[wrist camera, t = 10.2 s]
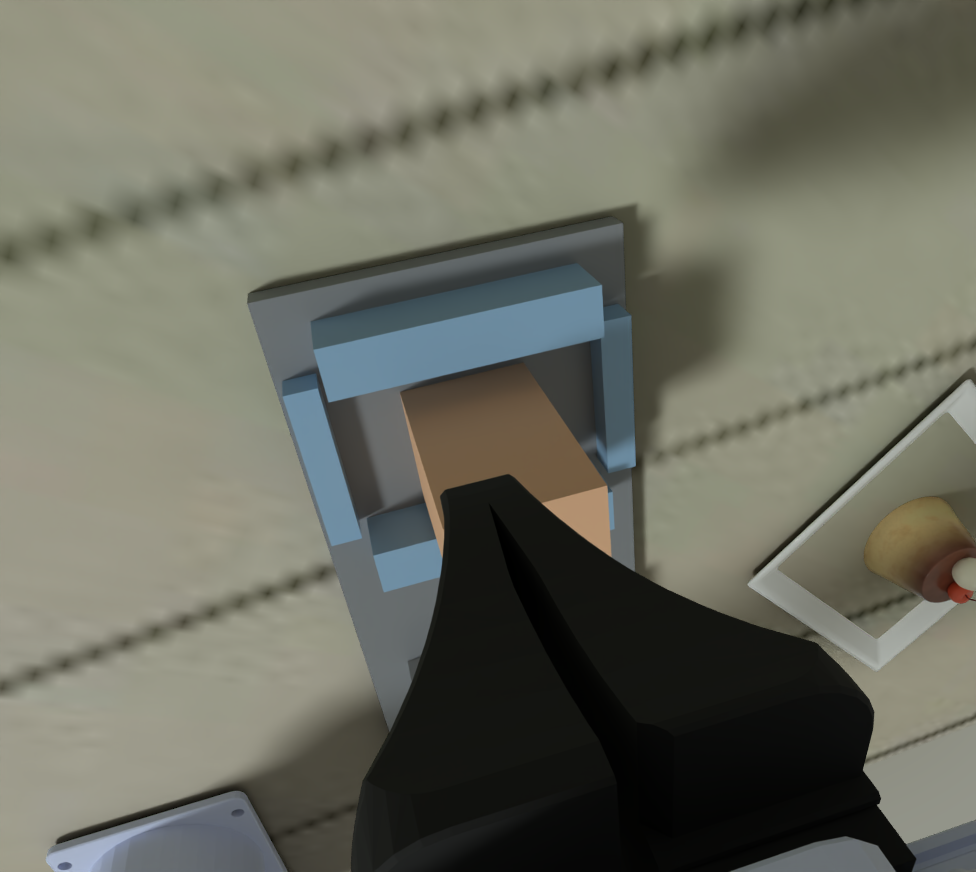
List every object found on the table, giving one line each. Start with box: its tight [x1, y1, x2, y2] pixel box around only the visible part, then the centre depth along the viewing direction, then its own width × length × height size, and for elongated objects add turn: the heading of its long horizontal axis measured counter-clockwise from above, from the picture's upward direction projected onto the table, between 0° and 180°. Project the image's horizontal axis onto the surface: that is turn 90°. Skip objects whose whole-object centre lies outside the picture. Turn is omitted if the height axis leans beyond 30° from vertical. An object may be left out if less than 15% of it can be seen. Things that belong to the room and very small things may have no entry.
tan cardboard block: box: [400, 362, 612, 557], centre depth 21 cm, size 4×4×7 cm
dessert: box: [748, 379, 976, 671], centre depth 32 cm, size 12×12×5 cm
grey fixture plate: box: [247, 216, 636, 732], centre depth 27 cm, size 25×11×3 cm, turn 8°
